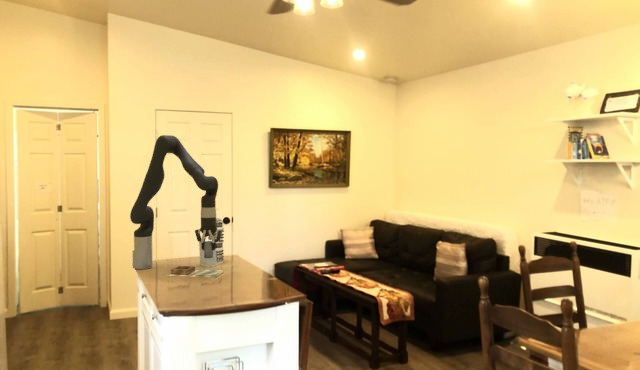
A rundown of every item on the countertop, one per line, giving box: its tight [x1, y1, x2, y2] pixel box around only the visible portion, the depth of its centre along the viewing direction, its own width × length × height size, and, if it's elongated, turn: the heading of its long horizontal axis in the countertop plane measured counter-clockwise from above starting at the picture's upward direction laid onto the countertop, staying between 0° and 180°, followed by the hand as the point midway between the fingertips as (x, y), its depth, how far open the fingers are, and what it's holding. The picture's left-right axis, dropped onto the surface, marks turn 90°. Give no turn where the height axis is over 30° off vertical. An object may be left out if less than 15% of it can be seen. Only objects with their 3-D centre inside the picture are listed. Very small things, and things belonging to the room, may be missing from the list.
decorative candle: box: [207, 217, 225, 265], centre depth 272 cm, size 9×9×25 cm
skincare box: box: [198, 238, 218, 268], centre depth 259 cm, size 8×6×15 cm
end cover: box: [204, 241, 213, 258], centre depth 240 cm, size 4×4×8 cm
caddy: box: [165, 265, 224, 280], centre depth 241 cm, size 25×14×4 cm, turn 83°
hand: (208, 249), depth 240 cm, fingers closed on end cover, 4 cm apart
